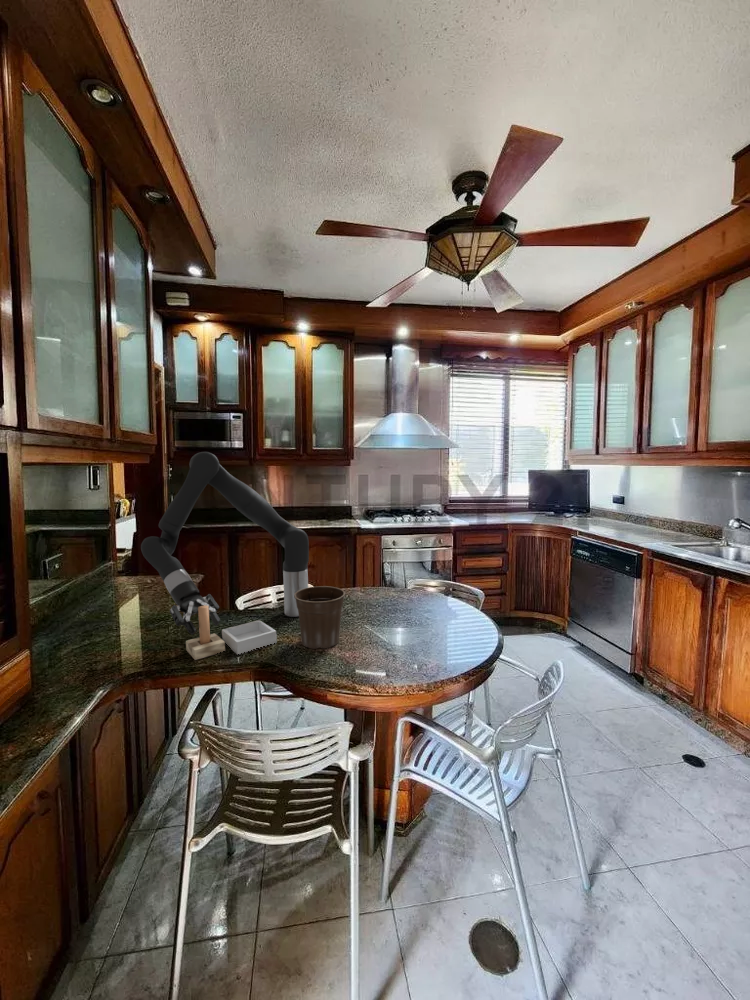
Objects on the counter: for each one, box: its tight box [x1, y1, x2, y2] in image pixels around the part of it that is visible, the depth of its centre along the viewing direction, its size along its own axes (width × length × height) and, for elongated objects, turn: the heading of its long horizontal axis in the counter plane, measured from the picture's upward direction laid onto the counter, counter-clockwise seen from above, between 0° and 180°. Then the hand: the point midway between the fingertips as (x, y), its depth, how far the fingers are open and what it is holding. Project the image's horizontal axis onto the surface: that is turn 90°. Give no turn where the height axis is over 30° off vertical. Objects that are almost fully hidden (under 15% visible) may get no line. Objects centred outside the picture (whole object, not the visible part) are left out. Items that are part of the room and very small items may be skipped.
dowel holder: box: [185, 633, 226, 661], centre depth 134 cm, size 9×9×3 cm
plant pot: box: [294, 585, 346, 650], centre depth 139 cm, size 16×16×16 cm
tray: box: [221, 619, 278, 656], centre depth 140 cm, size 13×13×4 cm
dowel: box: [197, 605, 211, 645], centre depth 134 cm, size 3×3×14 cm
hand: (206, 628), depth 133 cm, fingers open, 8 cm apart
